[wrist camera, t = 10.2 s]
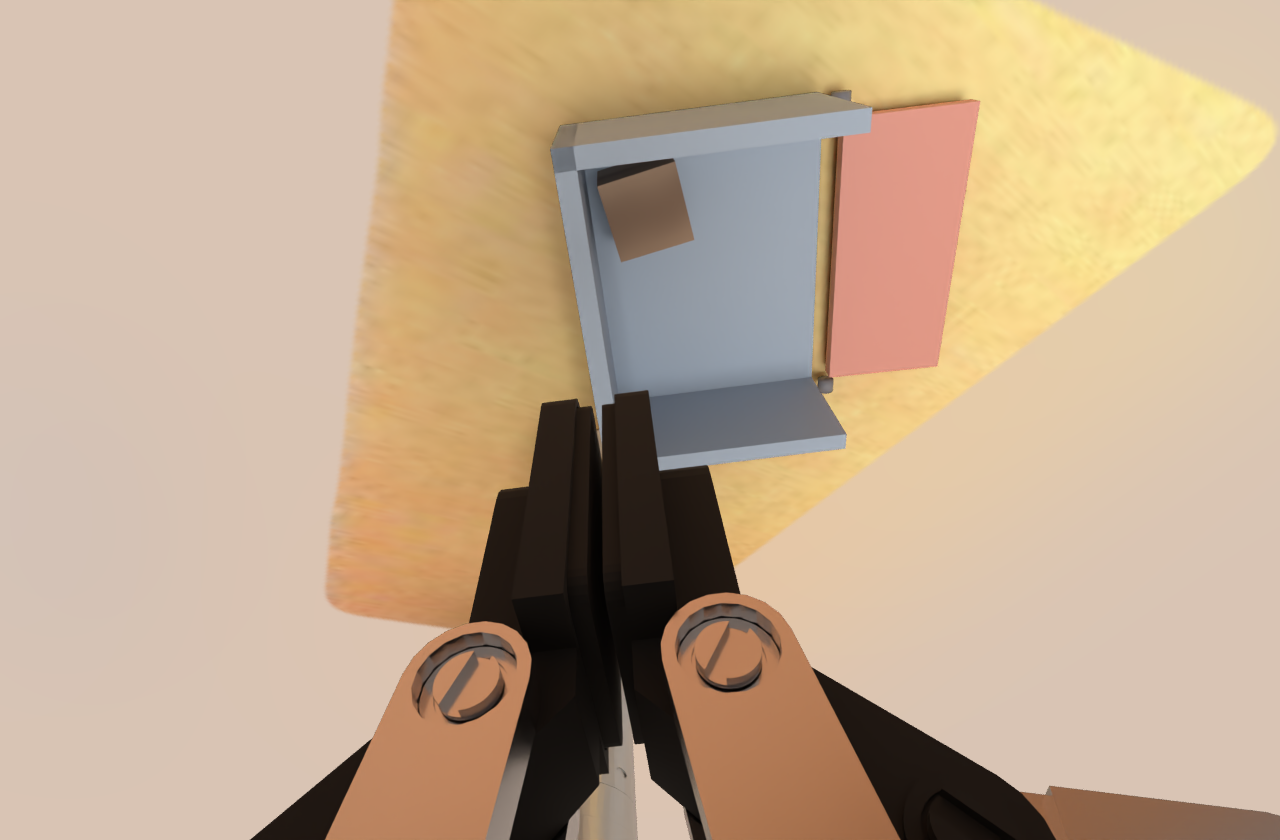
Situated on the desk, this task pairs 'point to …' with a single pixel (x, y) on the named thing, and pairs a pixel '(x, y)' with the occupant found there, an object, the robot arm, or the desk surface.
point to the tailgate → (897, 236)
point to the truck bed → (711, 275)
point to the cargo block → (644, 207)
